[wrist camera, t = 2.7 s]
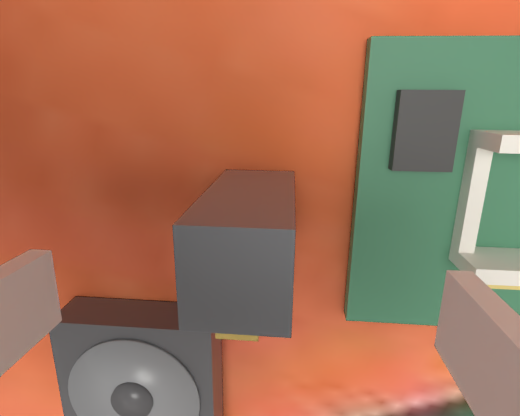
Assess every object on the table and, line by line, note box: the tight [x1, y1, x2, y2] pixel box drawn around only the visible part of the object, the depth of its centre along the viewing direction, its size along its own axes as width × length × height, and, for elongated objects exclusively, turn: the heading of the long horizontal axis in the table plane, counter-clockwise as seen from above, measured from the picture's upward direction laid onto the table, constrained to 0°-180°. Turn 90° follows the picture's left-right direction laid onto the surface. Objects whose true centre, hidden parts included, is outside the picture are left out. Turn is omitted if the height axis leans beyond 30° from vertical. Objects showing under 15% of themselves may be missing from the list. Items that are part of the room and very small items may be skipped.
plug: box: [173, 170, 296, 341], centre depth 17 cm, size 5×4×10 cm
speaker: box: [49, 296, 223, 416], centre depth 24 cm, size 10×10×4 cm
